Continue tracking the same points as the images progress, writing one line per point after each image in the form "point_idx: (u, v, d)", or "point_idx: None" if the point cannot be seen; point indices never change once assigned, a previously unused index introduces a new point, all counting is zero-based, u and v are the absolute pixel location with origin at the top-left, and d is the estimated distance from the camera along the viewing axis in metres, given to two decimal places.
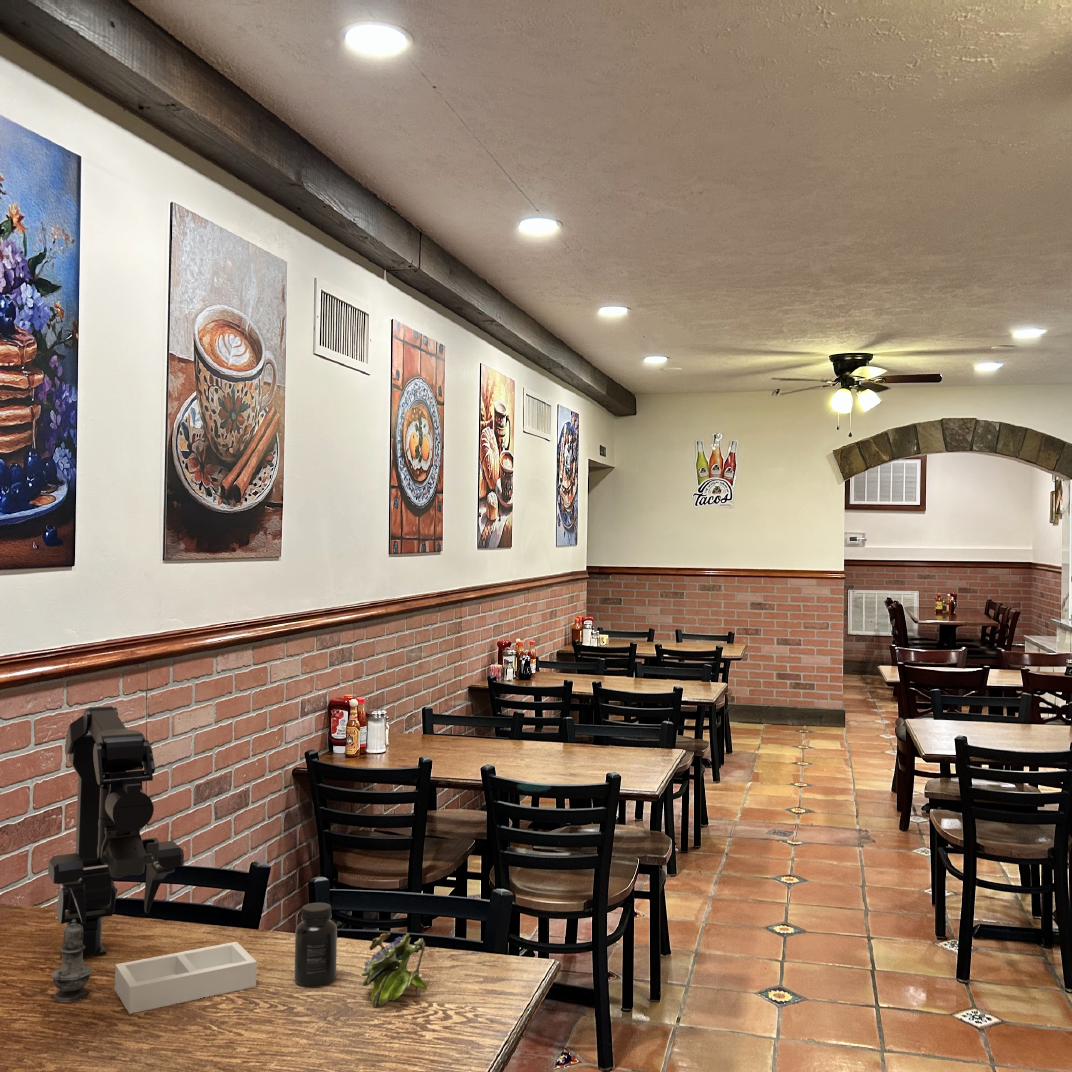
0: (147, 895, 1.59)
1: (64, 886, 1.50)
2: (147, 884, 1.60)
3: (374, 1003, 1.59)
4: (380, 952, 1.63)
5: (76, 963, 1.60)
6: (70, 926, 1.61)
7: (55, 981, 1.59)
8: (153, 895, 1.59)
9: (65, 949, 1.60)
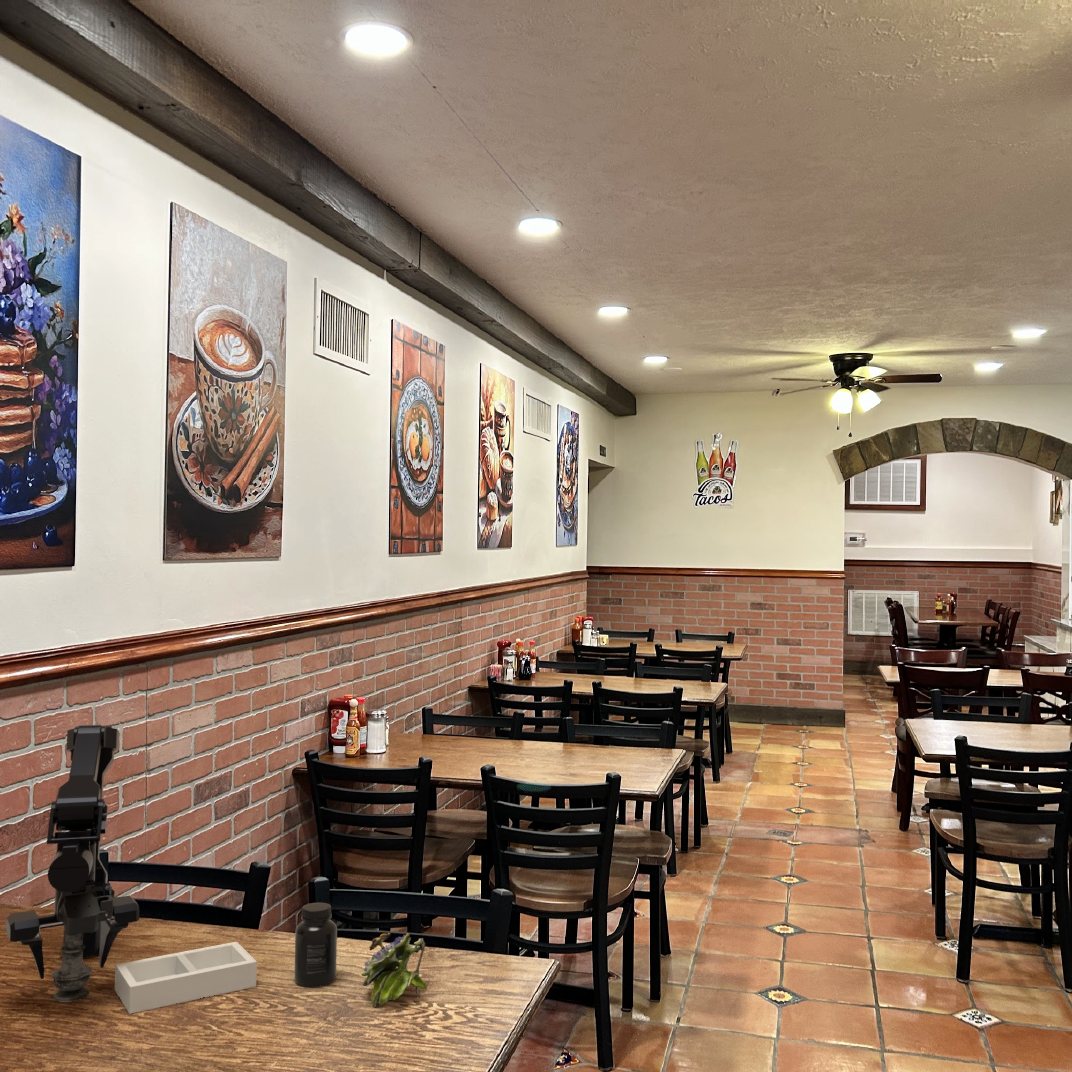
0: (102, 950, 1.63)
1: (22, 943, 1.55)
2: (102, 939, 1.64)
3: (374, 1003, 1.59)
4: (380, 952, 1.63)
5: (76, 963, 1.60)
6: None
7: (55, 981, 1.59)
8: (107, 950, 1.63)
9: (65, 949, 1.60)
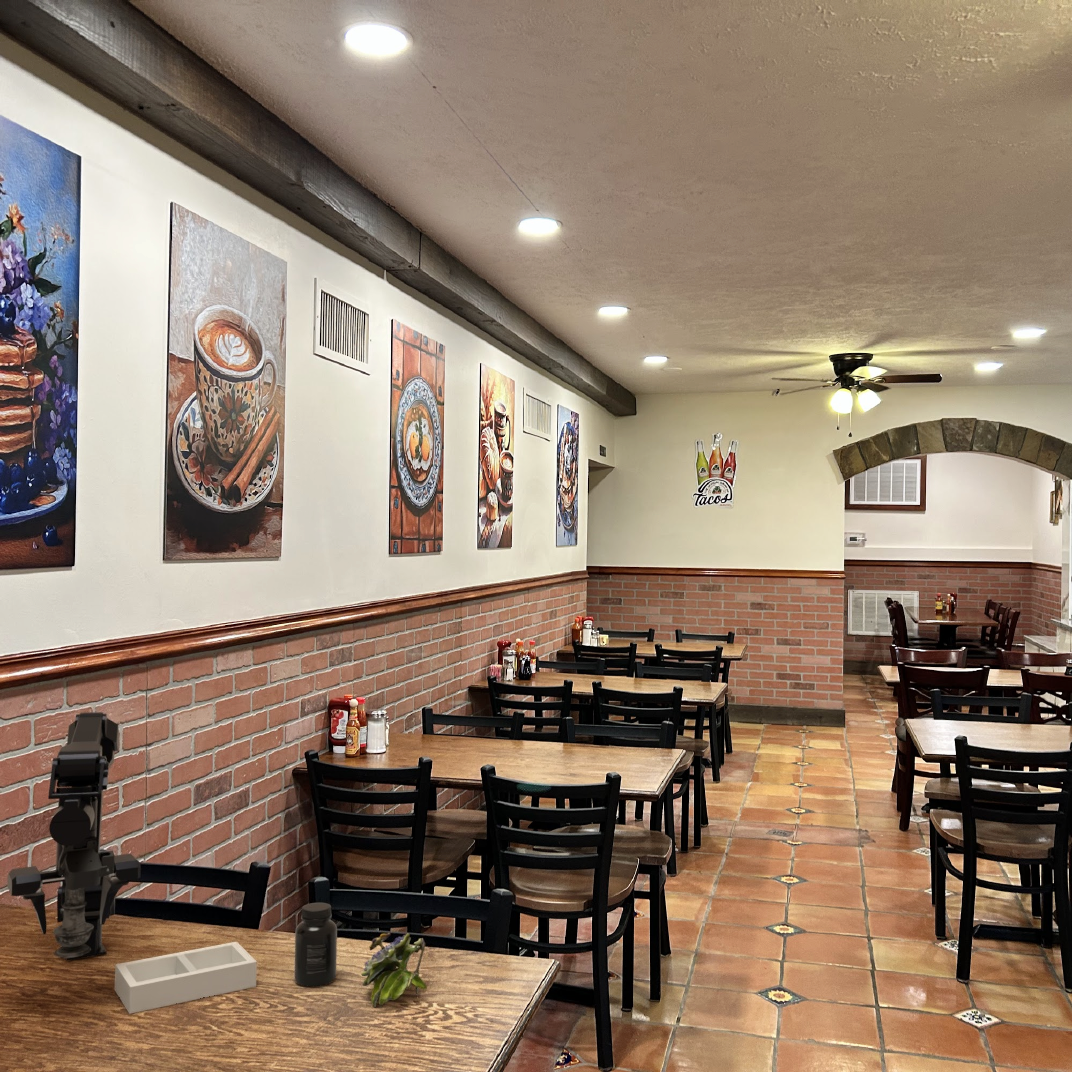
0: (102, 907, 1.63)
1: (24, 898, 1.55)
2: (103, 896, 1.64)
3: (374, 1003, 1.59)
4: (380, 952, 1.63)
5: (80, 918, 1.61)
6: None
7: (60, 938, 1.59)
8: (108, 907, 1.63)
9: (69, 905, 1.60)
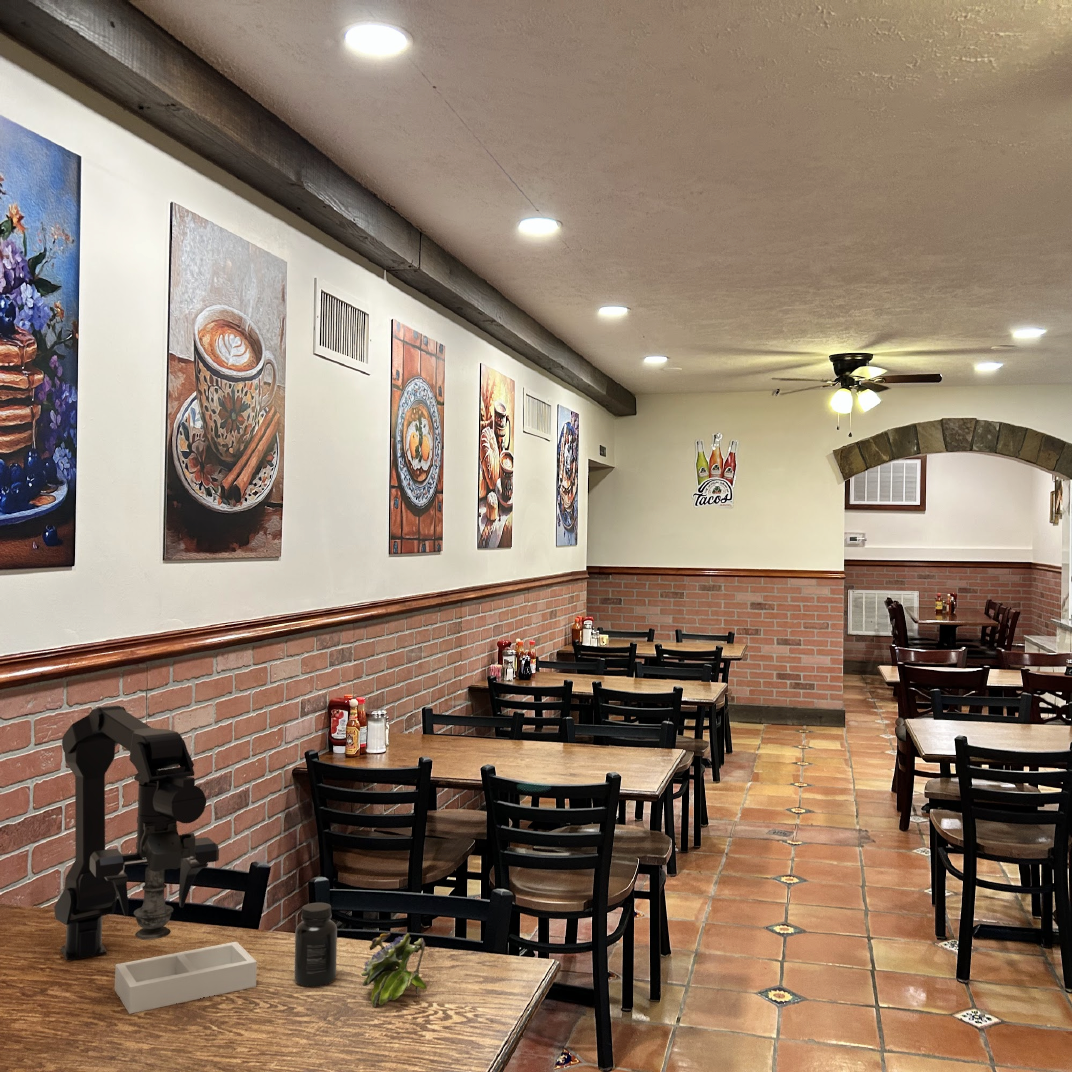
0: (182, 890, 1.64)
1: (108, 879, 1.56)
2: (181, 879, 1.65)
3: (374, 1003, 1.59)
4: (380, 952, 1.63)
5: (160, 901, 1.61)
6: None
7: (141, 920, 1.60)
8: (187, 890, 1.64)
9: (149, 887, 1.61)
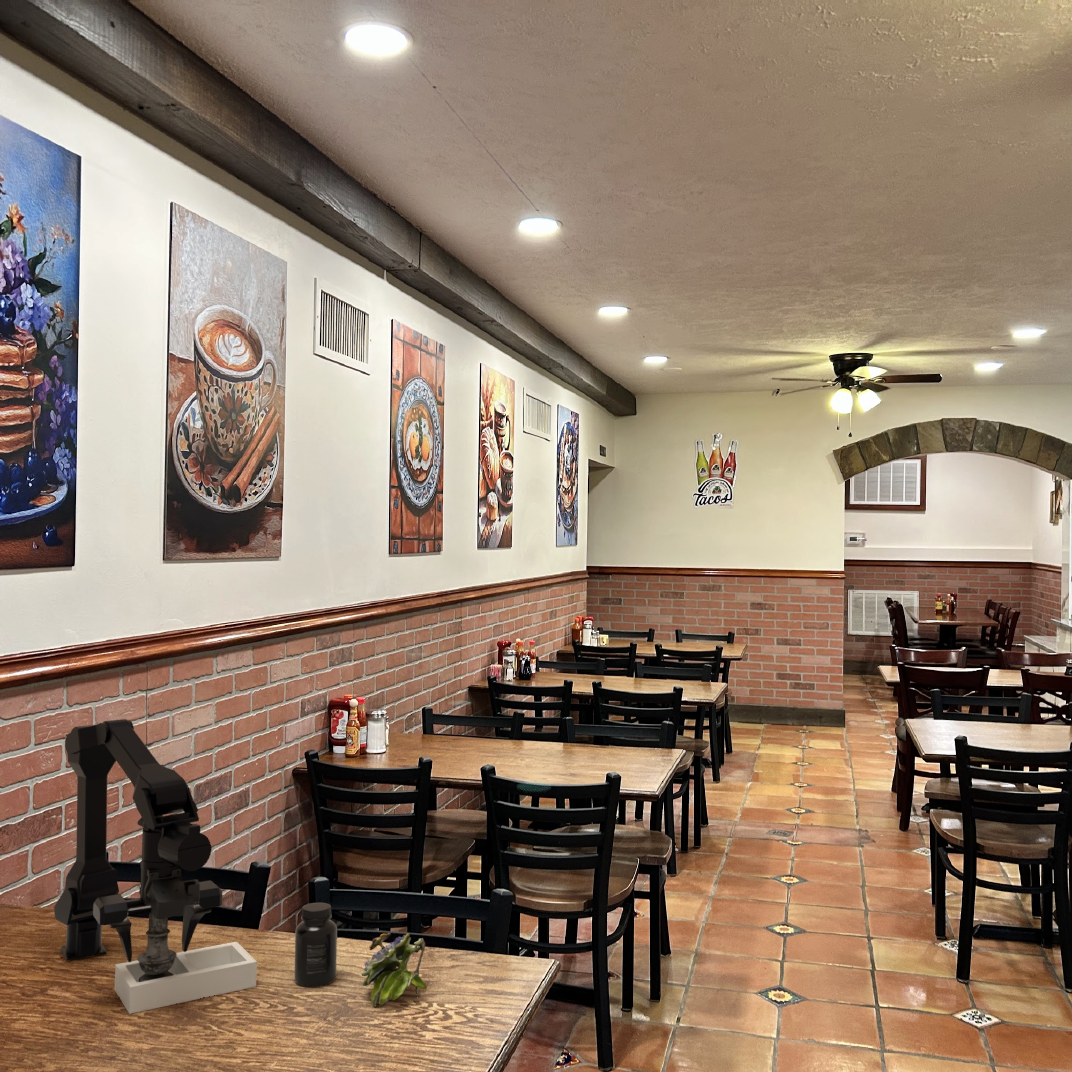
0: (185, 934, 1.64)
1: (112, 927, 1.56)
2: (185, 924, 1.65)
3: (374, 1003, 1.59)
4: (380, 952, 1.63)
5: (164, 946, 1.62)
6: None
7: (145, 966, 1.60)
8: (191, 934, 1.64)
9: (153, 933, 1.61)
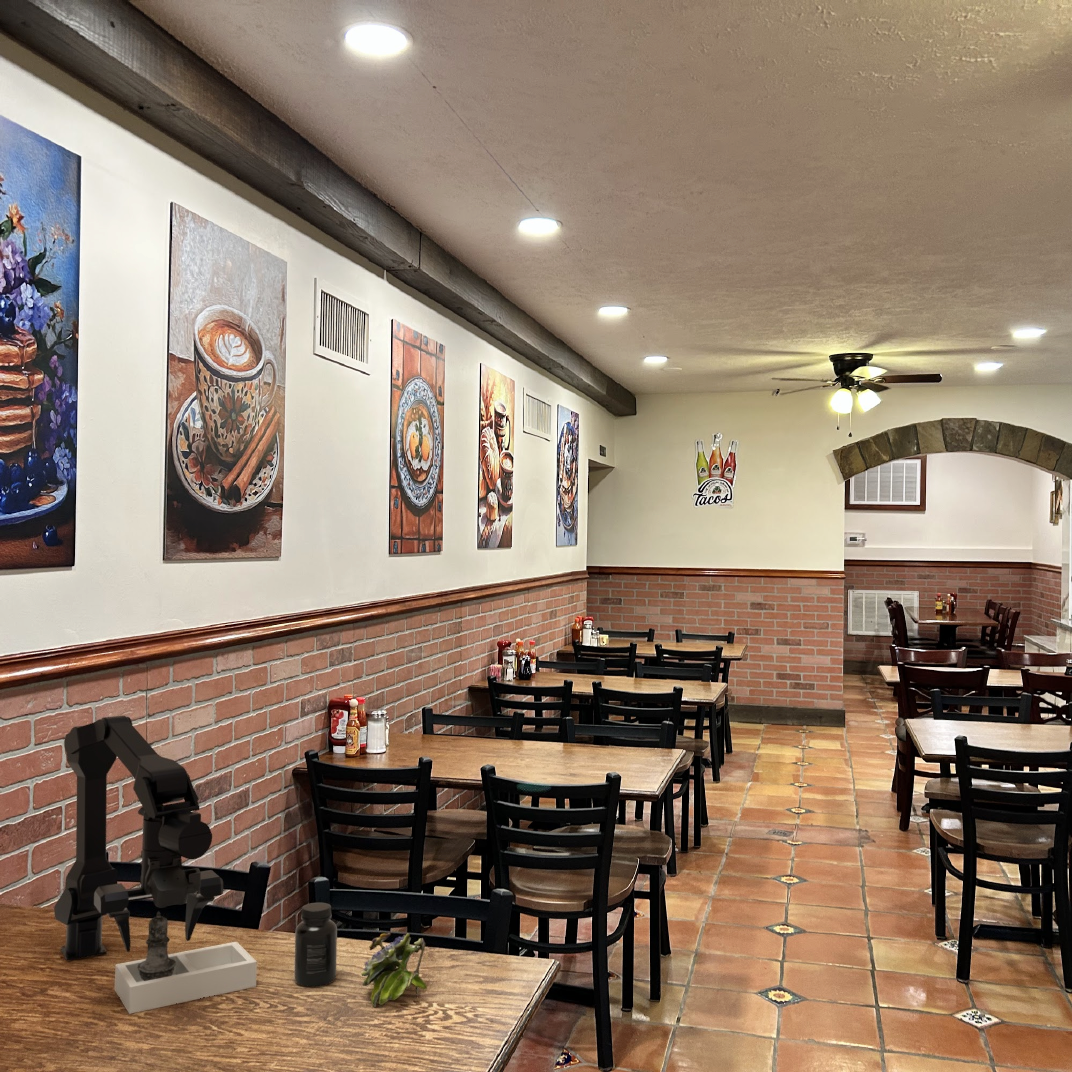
0: (188, 923, 1.64)
1: (110, 916, 1.56)
2: (188, 912, 1.65)
3: (374, 1003, 1.59)
4: (380, 952, 1.63)
5: (147, 955, 1.61)
6: (156, 916, 1.63)
7: None
8: (194, 923, 1.64)
9: None
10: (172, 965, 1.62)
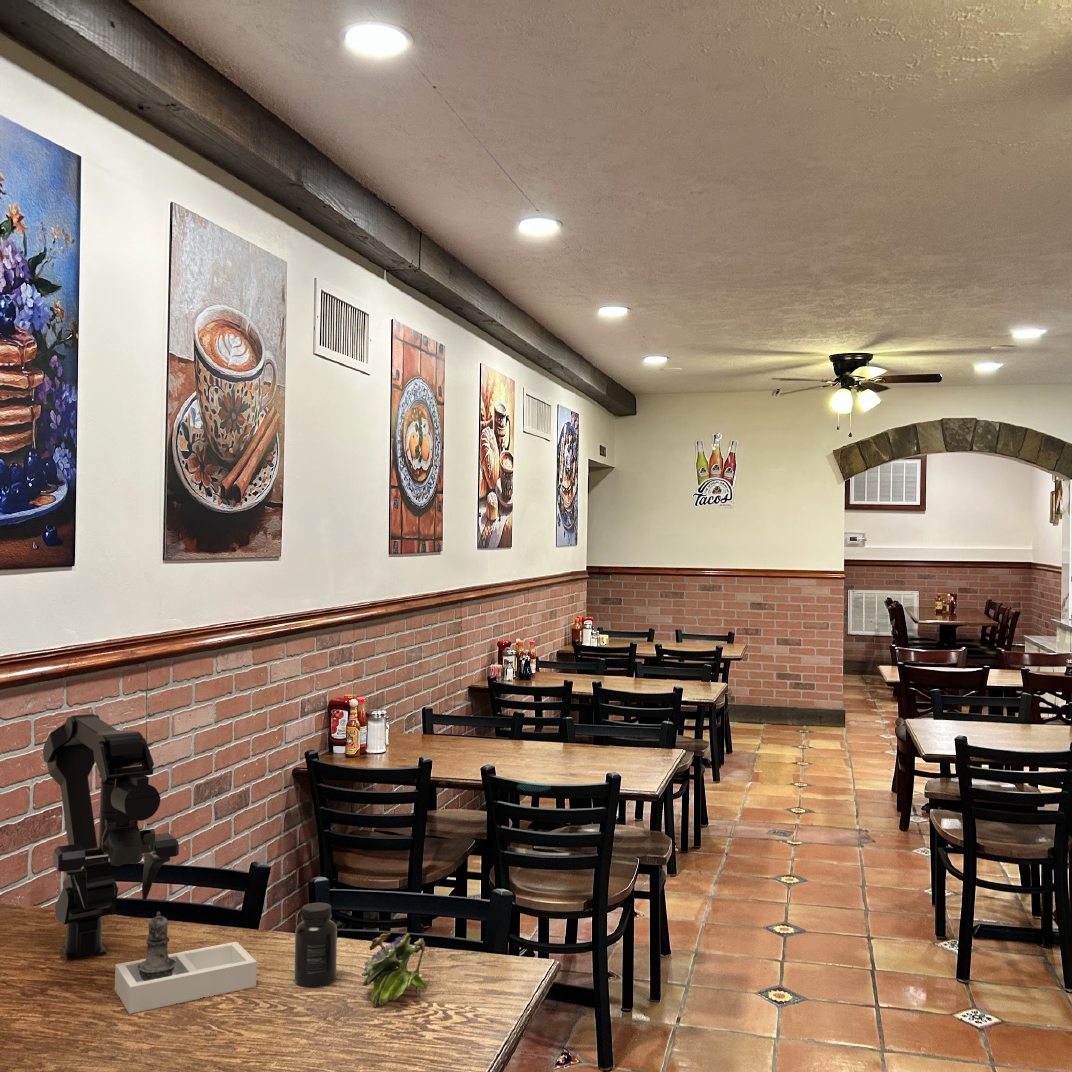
0: (145, 883, 1.71)
1: (67, 874, 1.62)
2: (145, 873, 1.72)
3: (374, 1003, 1.59)
4: (380, 952, 1.63)
5: (147, 955, 1.62)
6: (156, 916, 1.63)
7: None
8: (150, 883, 1.71)
9: None
10: (172, 965, 1.62)
